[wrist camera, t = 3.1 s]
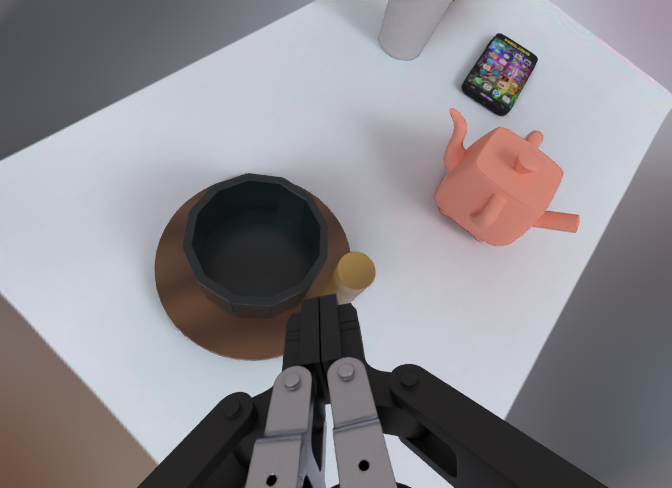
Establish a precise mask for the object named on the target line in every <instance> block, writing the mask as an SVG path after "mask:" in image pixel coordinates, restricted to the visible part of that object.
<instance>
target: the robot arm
mask: <svg viewBox="0 0 672 488" xmlns="http://www.w3.org/2000/svg"><path fill="white" fill-rule="evenodd" d="M326 404H331V408H332V415H333V423H334V428H333V438H334V446H335V453H336V461H337V469H338V476H339V484H338V485H335V486H333V487H331V488H411V487H409V486H407V485H404V484H401V483H398V482H396V481H395V477H394V473H393V470H392V466H391V462H390V458H389V454H388V450H387V447H386V443H385V439H384V435H383V433H384V434H389V435H395V436H398V438H399V439H400V441H401V442H402V443H404V444H405V445H406V446H407V447H408V448H409V449H410V450H412V451H413V452H414V453H415V454H416V455H417V456H419V457H420V458H421V459H422V460H423V461H424V462H425V463H427V464H428V465H429V466H430V467H431V468H432V469H433V470H435V471H436V472H437V473H438V474H439V475H440V476H442V477H443V478H444V479H445V480H446V481H447V482H448V483H450V484H451V485H452V486H453V487H454V488H608V487H607V486H605V485H603V484H602V483H600V482H599V481H597V480H596V479H594V478H593V477H591V476H590V475H588V474H586V473H585V472H583V471H582V470H580V469H578V468H577V467H576V466H574V465H572V464H571V463H569V462H567V461H566V460H565V459H563V458H562V457H560V456H558V455H557V454H555V453H554V452H552V451H551V450H549V449H548V448H546V447H544V446H543V445H541V444H539V443H538V442H537V441H535V440H533V439H532V438H530V437H529V436H527V435H526V434H524V433H523V432H521V431H520V430H518V429H517V428H515V427H513V426H512V425H510V424H509V423H507V422H506V421H504V420H503V419H501V418H499V417H498V416H496V415H495V414H493V413H492V412H490V411H489V410H487V409H485V408H484V407H482V406H481V405H479V404H478V403H476V402H475V401H473V400H471V399H470V398H468V397H467V396H465V395H464V394H462V393H461V392H459V391H457V390H456V389H454V388H453V387H451V386H450V385H448V384H447V383H445V382H443V381H442V380H440V379H439V378H437V377H436V376H434V375H433V374H431V373H430V372H428V371H426V370H425V369H423V368H422V367H420V366H417V365H414V364H404V365H401V366H398V367H396V368H395V369H394V370H393V371H392V372H384V371H379V370H376V369H374V368H372V367H371V366H370V365H368V363H367V362H366V360H365V354H364V348H363V342H362V336H361V331H360V326H359V321H358V316H357V311H356V309H355V308H354V307H353V306H352V304H351V303H346V304H341V305H339V301H338V297H337V293H334V294H329V295H323V296H320V298H319V296H318V297H313V298H307V299H302V309H301V312H297V313H292V314H291V316H290V317H289V319H288V321H287V323H286V334H285V344H284V355H283V366H282V372H281V373H280V374H279V375H278V376H277V378H276V380H275V382H274V386H272V387H271V388H270V389H268V390H267V391H265V392H263V393H261V394H259V395H257V396H254V397H252V398H251V396H250V395H248V394H247V393H244V392H236V393H232V394H230V395H228V396H226V397H225V398H224V399H222V400H221V401H220V402H219V403H218V404H217V405H216V406H215V407H214V408H213V410H212V411H211V412H210V413H209V414H208V415H207V416H206V417H205V418H204V419H203V420H202V421H201V422H200V423H199V424H198V425H197V426H196V427H195V428H194V429H193V430H192V431H191V432H190V433H189V434H188V435H187V436H186V437H185V438H184V440H183V441H182V442H181V443H180V444H179V445H178V446H177V447H176V448H175V449H174V450H173V451H172V452H171V453H170V454H169V455H168V456H167V457H166V458H165V459H164V460H163V461H162V462H161V463H160V464H159V465H158V466H157V467H156V468H155V470H154V471H153V472H152V473H151V474H150V475H149V476H148V477H147V478H146V479H145V480H144V481H143V482H142V483H141V484H140V485H139V486H138V487H137V488H326V485H325V456H326V430H327V423H326V419H325V417H326V413H325V405H326Z"/></svg>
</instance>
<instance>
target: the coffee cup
mask: <svg viewBox="0 0 672 488" xmlns="http://www.w3.org/2000/svg"><path fill="white" fill-rule="evenodd" d="M452 1H453V0H388V3H387V7H386V11H385V15H384V19H383V22H382V26H381V30H380V34H379V43H380V45H381V47H382V48H383V50H384V51H385V52H386V53H388V54H389V55H390V56H392V57H394V58H397V59H400V60H413V59H415V58H417V57H418V56H419V55H420V53H421V51H422V50H423V48H424V47H425V45H426V43H427V42H428V40H429V38H430V37H431V35H432V33H433V32H434V30H435V28H436V27H437V25H438V24H439V22H440V20H441V19H442V17H443V15H444V14H445V12H446V10H447V9H448V7H449V6H450V4H451V2H452Z"/></svg>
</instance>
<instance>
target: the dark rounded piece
mask: <svg viewBox="0 0 672 488" xmlns="http://www.w3.org/2000/svg"><path fill="white" fill-rule="evenodd" d="M374 278H375V267H374V264H373V262H372V261H371V259H370V258H369V257H368V256H366V255H365V254H363V253H360V252H350V248H349V244H348V241H347V238H346V235H345V233H344V231H343V229H342V227H341V225H340V223H339V221H338V220H337V218H336V217H335V215H334V214H333V213H332V212H331V211H330V209H329V208H328V207H327V206H326V205H325V204H324V203H323V202H322V201H321V200H319V199H318V198H317V197H315V196H314V195H313V194H311V193H310V192H308V191H306V190H305V189H303V188H301V187H299V186H297V185H294V184H292V183H291V182H289V181H288V180H286V179H285V178H282V177H275V176H267V175H258V174H250V173H248V174H244V175H241V176H238V177H235V178H232V179H229V180H226V181H223V182H220V183H217V184H214V185H212V186H210V187H208V188H206V189H204V190H203V191H201V192H199V193H198V194H196V195H195V196H193V197H192V198H191V199H189V200H188V201H187V202H186V203H185V204H184V205H183V206H182V207H180V209H179V210H178V211H177V212H176V213H175V214H174V216H173V217H172V218H171V220H170V221H169V223H168V225H167V226H166V228H165V230H164V232H163V234H162V236H161V239H160V242H159V245H158V248H157V252H156V259H155V281H156V287H157V291H158V294H159V298H160V301H161V303H162V305H163V307H164V309H165V311H166V313H167V315H168V316H169V318H170V319H171V320H172V322H173V323H174V325H175V326H176V327H177V328H178V329H179V330H180V331H181V332H182V333H183V334H184V335H185V336H186V337H188V338H189V339H190V340H191V341H193V342H194V343H195V344H197V345H199V346H201V347H202V348H204V349H206V350H208V351H210V352H212V353H215V354H217V355H220V356H223V357H227V358H231V359H235V360H246V361H257V360H267V359H273V358H278V357H281V356H283V355H284V344H285V334H286V323H287V321H288V319H289V317H290V316H291V314H292V313H297V312H301V309H302V299H307V298H313V297H318V296H319V298H320V296H323V295H329V294H334V293H337V297H338V301H339V305H341V304H346V303H350V302H351V301H352V300H353V299H354V298H356V297H357V296H358V295H359V294H360V293H361V292H363V291H364V290H365V289H366V288H367V287H368V286H370V285H371V284H372V282H373V280H374Z"/></svg>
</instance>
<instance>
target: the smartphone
mask: <svg viewBox="0 0 672 488" xmlns="http://www.w3.org/2000/svg"><path fill="white" fill-rule="evenodd" d="M537 60H538V58H537V57H536V56H535V55H534V54H533V53H531V52H530V51H528V50H527V49H525V48H524V47H522V46H521V45H519V44H517V43H516V42H514V41H513V40H511V39H510V38H508V37H506V36H505V35H503V34H500V33H498V34H497V35H496V36H495V37H494V38H493V39H492V40H491V41H490V42H489V44H488V45H487V48H486V50H485V51H484V52H483V54H482V55H481V57H480V58H479V60H478V61H477V63H476V64H475V66H474V67H473V69H472V70H471V72H470V73H469V75H468V76H467V78H466V79H465V81H464V83H463V85H462V90H463V92H464V93H465V94H467V95H468V96H470V97H471V98H473V99H474V100H476V101H477V102H479V103H480V104H482V105H484V106H485V107H487V108H488V109H490V110H491V111H493V112H494V113H496V114H498V115H500V116H504V115H506V114H507V113H508V112H509V111H510V110H511V108H512V106H513V105H514V103H515V101H516V99H517V98H518V96H519V94H520V92H521V91H522V89H523V87H524V85H525V83H526V82H527V80H528V78H529V76H530V75H531V72H532V71H533V69H534V67H535V65H536V63H537Z"/></svg>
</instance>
